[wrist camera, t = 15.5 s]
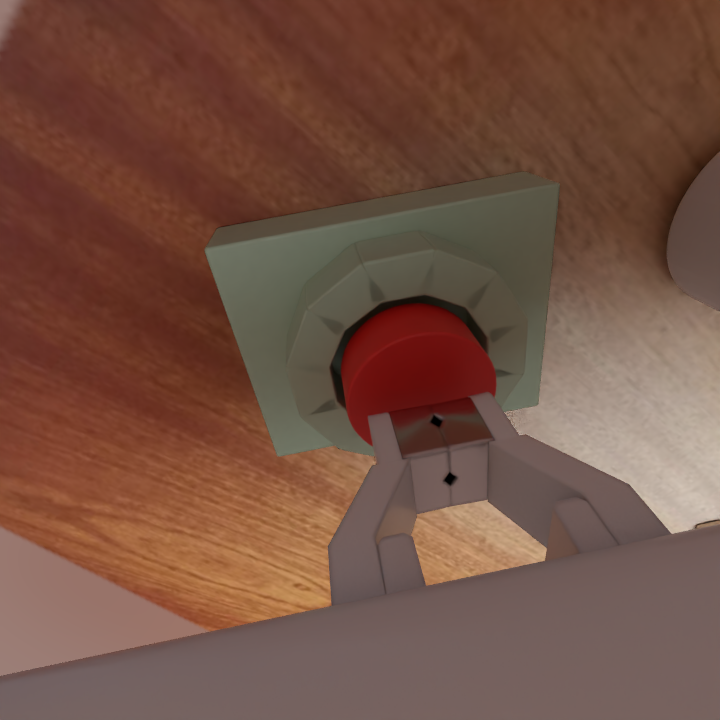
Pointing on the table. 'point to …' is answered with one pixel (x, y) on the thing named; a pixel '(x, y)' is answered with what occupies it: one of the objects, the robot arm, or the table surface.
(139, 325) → the table surface
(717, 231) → the beverage can
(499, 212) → the control block
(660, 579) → the robot arm
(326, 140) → the table surface
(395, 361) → the button
